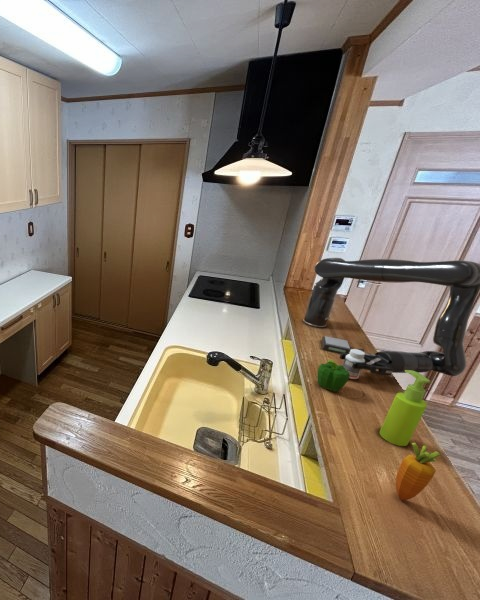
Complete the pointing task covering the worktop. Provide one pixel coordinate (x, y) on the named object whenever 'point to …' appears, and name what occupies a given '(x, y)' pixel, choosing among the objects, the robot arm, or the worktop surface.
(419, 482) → the carrot
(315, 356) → the worktop surface
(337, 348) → the scale
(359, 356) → the pill bottle
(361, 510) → the worktop surface
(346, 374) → the bell pepper
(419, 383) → the soap dispenser
